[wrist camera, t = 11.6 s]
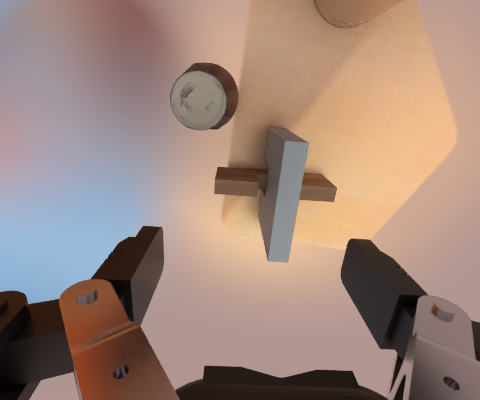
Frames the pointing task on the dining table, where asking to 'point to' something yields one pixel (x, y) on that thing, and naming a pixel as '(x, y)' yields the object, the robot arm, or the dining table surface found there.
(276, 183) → the grey block
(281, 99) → the dining table surface
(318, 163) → the dining table surface
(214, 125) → the sauce bottle
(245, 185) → the walnut board
